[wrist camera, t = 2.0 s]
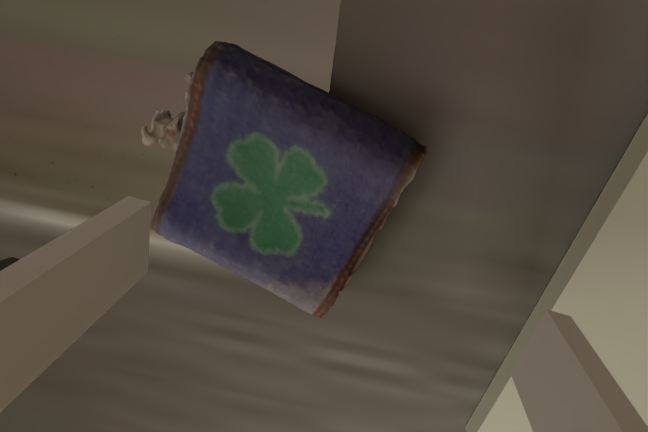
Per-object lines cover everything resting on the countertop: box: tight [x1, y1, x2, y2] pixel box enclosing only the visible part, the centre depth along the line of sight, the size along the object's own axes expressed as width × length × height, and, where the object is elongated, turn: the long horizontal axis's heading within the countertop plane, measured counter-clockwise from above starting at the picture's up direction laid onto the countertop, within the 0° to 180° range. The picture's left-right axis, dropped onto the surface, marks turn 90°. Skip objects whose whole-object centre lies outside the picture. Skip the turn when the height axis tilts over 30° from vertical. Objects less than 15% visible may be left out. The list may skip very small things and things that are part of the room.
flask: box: [141, 41, 428, 319], centre depth 17 cm, size 9×3×11 cm
